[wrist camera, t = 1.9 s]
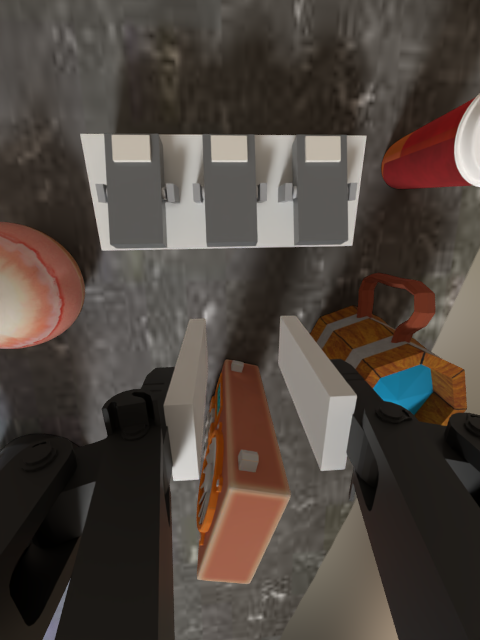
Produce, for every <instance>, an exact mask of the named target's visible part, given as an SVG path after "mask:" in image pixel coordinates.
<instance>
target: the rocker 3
mask: <svg viewBox="0 0 480 640" xmlns="http://www.w3.org/2000/svg"><path fill="white" fill-rule="evenodd" d="M292 172H293V188H292V198H293V216H294V245H341V244H342V243H344V242H346V241H348V183H347V135H299V134H297V135H296V137H295V140H294V142H293V144H292Z"/></svg>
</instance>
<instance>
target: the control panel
mask: <svg viewBox="0 0 480 640" xmlns="http://www.w3.org/2000/svg"><path fill="white" fill-rule="evenodd" d="M205 427H206V430H205V438H204V441H205V445H204V451H203V458H204V463H203V468H202V474H201V479H200V486H199V494H198V503H197V528H198V530H199V532H200V534H199V551H198V567H197V578H198V580H207V581H220V582H232V583H244V584H249V583H250V582H251V580H252V578H253V576H254V574H255V572H256V570H257V567H258V565H259V563H260V561H261V559H262V557H263V555H264V552H265V550H266V548H267V546H268V544H269V542H270V540H271V537H272V535H273V533H274V531H275V529H276V527H277V525H278V523H279V520H280V518H281V516H282V514H283V512H284V510H285V508H286V505H287V503H288V501H289V499H290V496H291V491H290V489H289V485H288V481H287V477H286V473H285V469H284V466H283V462H282V458H281V454H280V450H279V446H278V442H277V438H276V434H275V430H274V426H273V423H272V419H271V415H270V411H269V407H268V403H267V399H266V395H265V391H264V388H263V384H262V380H261V376H260V372H259V368H258V366H256V365H251V364H247V363H243V362H240V361H235V360H233V361H232V360H228V359H226V360H225V362H224V365H223V369H222V372H221V374H220V377H219V381H218V384H217V388H216V392H215V396H213V397H212V399H211V403H210V410H209V411H208V413H207V417H206V424H205Z"/></svg>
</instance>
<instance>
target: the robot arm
mask: <svg viewBox="0 0 480 640" xmlns="http://www.w3.org/2000/svg"><path fill="white" fill-rule="evenodd" d="M278 365H279V367H280V370H281V372H282V375H283V377H284V380H285V382H286V385H287V387H288V390H289V392H290V395H291V397H292V400H293V402H294V405H295V407H296V410H297V412H298V415H299V417H300V420H301V422H302V425H303V427H304V430H305V432H306V435H307V437H308V440H309V442H310V445H311V447H312V450H313V452H314V455H315V457H316V460H317V463H318V465H319V468H320V470H321V471H326V470H340V469H345V465H346V459H347V455H348V457H349V459H350V461H351V463H352V464H353V466H354V469H353V474H352V480H351V485H350V491H349V501H353V500H354V494H355V492H356V495H357V498H358V501H359V505H360V509H361V512H362V516H363V519H364V522H365V526H366V529H367V532H368V536H369V539H370V543H371V546H372V550H373V553H374V556H375V560H376V563H377V567H378V570H379V573H380V577H381V580H382V584H383V587H384V591H385V594H386V597H387V601H388V604H389V608H390V611H391V615H392V618H393V622H394V625H395V628H396V632H397V635H398V639H399V640H480V415H475V414H471V413H455V414H452V415H451V417H450V418H449V421H448V424H447V426H444V425H438V424H432V423H426V422H420V421H418V420H417V418H416V417H415V416H414V415H413V414H412V413H411V412H410V411H409V410H407V409H406V408H404V407H402V406H400V405H398V404H395V403H392V402H387V401H383V399H382V398H381V397H380V396H379V395H378V394H377V393H376V392H375V391H374V389H373V388H372V387H371V386H370V385H369V384H368V383H367V382H366V381H364V378H363V377H362V376H361V375H360V374H359V373H358V372H357V370H356V369H355V368H354V367H353V366H352V365H351V364H349V363H347V362H345V361H344V360H342V359H329V358H328V357H327V356H326V355H325V353H324V352H323V351H322V349H321V348H320V347H319V345H318V344H317V343H316V342H315V340H314V339H313V338H312V336H311V335H310V334H309V333H308V331H307V330H306V329H305V327H304V326H303V325H302V323H301V322H300V321H299V320H298V318H297V317H296V316H280V337H279V360H278ZM207 376H208V356H207V339H206V322H205V319H190V320H189V323H188V326H187V330H186V333H185V336H184V340H183V343H182V346H181V349H180V353H179V356H178V359H177V363H176V366H175V367H166V368H155V369H154V370H153V371H152V372H151V373H149V374H148V375H147V377H146V379H145V381H144V383H143V386H142V387H141V389H133V390H129V391H125V392H122V393H120V394H117V395H115V396H113V397H112V398H111V399H109V400H108V401H107V402H106V403H105V404H104V406H103V408H102V413H103V417H104V422H105V426H106V430H107V435H108V436H107V438H105V439H103V440H101V441H98V442H95V443H92V444H89V445H85V446H82V447H78V446H77V445H75V444H74V443H72V442H70V441H69V440H68V439H66V438H61V437H57V436H53V435H46V434H32V435H26V436H22V437H19V438H17V439H15V440H13V441H11V442H10V443H9V444H7V445H6V446H5V447H4V448H3V450H2V451H1V452H0V640H42V639H43V637H44V635H45V633H46V631H47V628H48V626H49V624H50V622H51V620H52V618H53V615H54V613H55V611H56V609H57V607H58V604H59V602H60V600H61V598H62V596H63V593H64V591H65V589H66V587H67V585H68V583H69V580H70V583H69V587H68V590H67V594H66V598H65V602H64V606H63V610H62V614H61V617H60V621H59V625H58V629H57V633H56V637H55V640H175V633H174V595H173V556H172V517H171V492H170V485H169V483H170V478H171V472H172V473H173V481H181V480H195V479H199V474H200V462H201V450H202V437H203V425H204V413H205V400H206V388H207ZM70 578H71V579H70Z"/></svg>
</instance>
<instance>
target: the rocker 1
mask: <svg viewBox="0 0 480 640" xmlns="http://www.w3.org/2000/svg"><path fill="white" fill-rule="evenodd" d="M104 143H105V162H106V180H107V188H106V194H107V199H108V218H109V237H110V245H112V246H113V247H115V248H117V249H128V248H167V228H166V205H165V199H167V193H166V188H165V182H164V159H163V144H162V141H161V139H160V136H159V134H136V133H104Z"/></svg>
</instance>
